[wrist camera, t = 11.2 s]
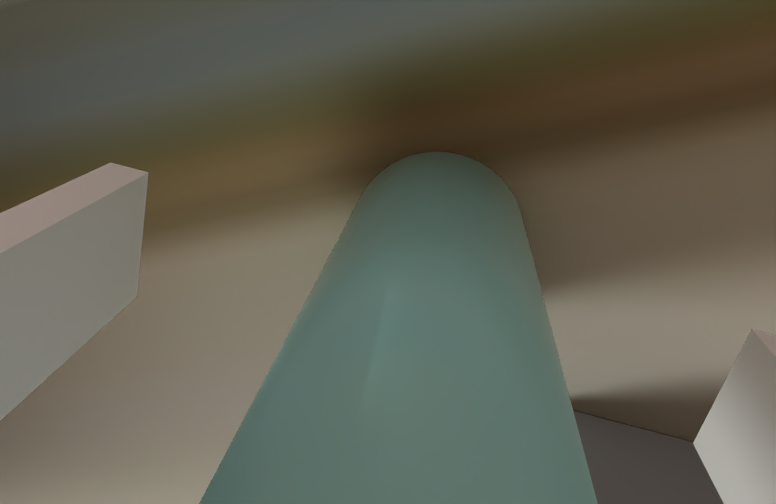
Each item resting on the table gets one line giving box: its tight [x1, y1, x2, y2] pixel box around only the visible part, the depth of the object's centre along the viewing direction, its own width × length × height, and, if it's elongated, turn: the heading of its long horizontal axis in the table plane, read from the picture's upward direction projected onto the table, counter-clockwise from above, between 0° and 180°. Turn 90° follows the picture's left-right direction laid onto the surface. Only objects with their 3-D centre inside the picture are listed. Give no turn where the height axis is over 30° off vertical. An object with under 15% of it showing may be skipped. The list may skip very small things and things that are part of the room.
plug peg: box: [199, 152, 598, 504], centre depth 10 cm, size 4×4×14 cm
